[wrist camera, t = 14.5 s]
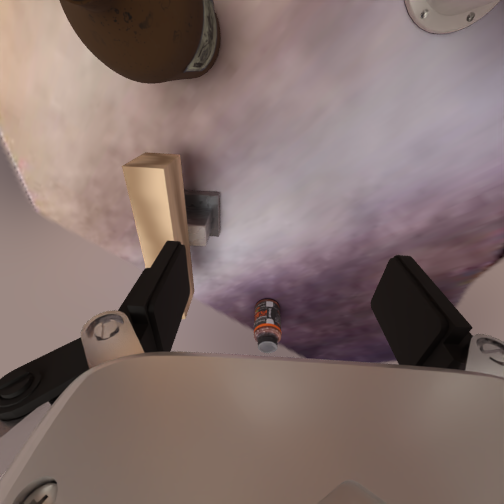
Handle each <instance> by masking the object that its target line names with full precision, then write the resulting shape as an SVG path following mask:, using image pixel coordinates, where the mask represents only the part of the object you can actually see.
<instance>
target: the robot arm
mask: <svg viewBox="0 0 504 504" xmlns="http://www.w3.org/2000/svg"><path fill="white" fill-rule="evenodd" d="M499 1H500V0H405V4H406V7H407V10H408V13H409V15H410V16H411V18H412V20H413V21H414V22H415V23H416V24H417V25H418V26H419V27H420V28H421V29H423V30H425V31H427V32H430V33H435V34H445V33H450V32H454V31H458V30H460V29H463V28H466V27H468V26H470V25H471V24H473V23H475V22H476V21H478V20H480V19H481V18H482V17H483V16H485V15H486V14H487V13H488V12H490V11H491V10H492V9H493V8H494V7H495V6H496V5H497V4H498V2H499ZM421 13H422V14H423V16H422V18H421ZM467 17H468V18H467ZM466 19H467V20H466ZM189 296H190V282H189V274H188V265H187V256H186V248H185V245H181V242H180V241H166V243H165V244H164V246H163V248H162V249H161V251H160V253H159V254H158V256H157V258H156V259H155V261H154V262H153V264H152V266H151V267H150V268H145V270H144V271H143V272H142V274H141V276H140V277H139V279H138V280H137V282H136V283H135V285H134V286H133V288H132V290H131V291H130V293H129V294H128V296H127V297H126V299H125V300H124V302H123V304H122V305H121V307H120V308H119V310H118V311H106V312H103V313H100V314H98V315H96V316H94V317H93V318H91V319H90V320H89V321H87V323H86V324H85V325H84V326H83V328H82V330H81V338H79V339H77V340H75V341H72V342H70V343H68V344H66V345H64V346H62V347H60V348H58V349H56V350H54V351H52V352H50V353H48V354H46V355H44V356H42V357H40V358H38V359H36V360H33V361H31V362H29V363H27V364H25V365H23V366H21V367H19V368H17V369H15V370H13V371H11V372H10V373H8V374H7V375H5V376H4V377H2V378H1V379H0V477H1V475H2V474H3V473H4V472H5V471H6V470H7V471H6V472H5V474H4V475H3V477H2V478H1V480H0V504H504V342H502V341H501V340H499V339H497V338H494V337H492V336H489V335H484V334H476V335H474V336H472V335H471V333H470V332H469V331H470V330H471V329H472V327H471V325H470V324H469V323H468V322H467V321H466V319H465V318H464V317H463V316H462V315H461V314H460V313H459V311H458V310H457V309H456V308H455V307H454V306H453V304H452V303H451V302H450V301H449V300H448V299H447V297H446V296H445V295H444V294H443V293H442V292H441V291H440V289H439V288H438V287H437V286H436V285H435V284H434V282H433V281H432V280H431V279H430V278H429V277H428V275H427V274H426V273H425V272H424V271H423V270H422V269H421V267H420V266H419V265H418V264H417V263H416V262H415V260H414V259H413V258H412V257H411V256H401V255H396V256H394V257H393V258H391V259H390V260H389V262H388V264H387V266H386V269H385V271H384V273H383V275H382V278H381V280H380V282H379V284H378V286H377V289H376V291H375V293H374V295H373V298H372V300H371V308H372V310H373V312H374V314H375V316H376V318H377V320H378V322H379V324H380V326H381V329H382V331H383V333H384V335H385V337H386V339H387V341H388V343H389V345H390V347H391V349H392V351H393V353H394V355H395V357H396V359H397V361H398V363H399V365H396V364H382V363H367V362H353V361H338V360H322V359H306V358H291V357H273V356H257V355H239V354H223V353H201V352H170V351H171V348H172V345H173V342H174V339H175V336H176V333H177V331H178V328H179V325H180V322H181V319H182V316H183V313H184V310H185V308H186V305H187V302H188V299H189Z"/></svg>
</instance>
